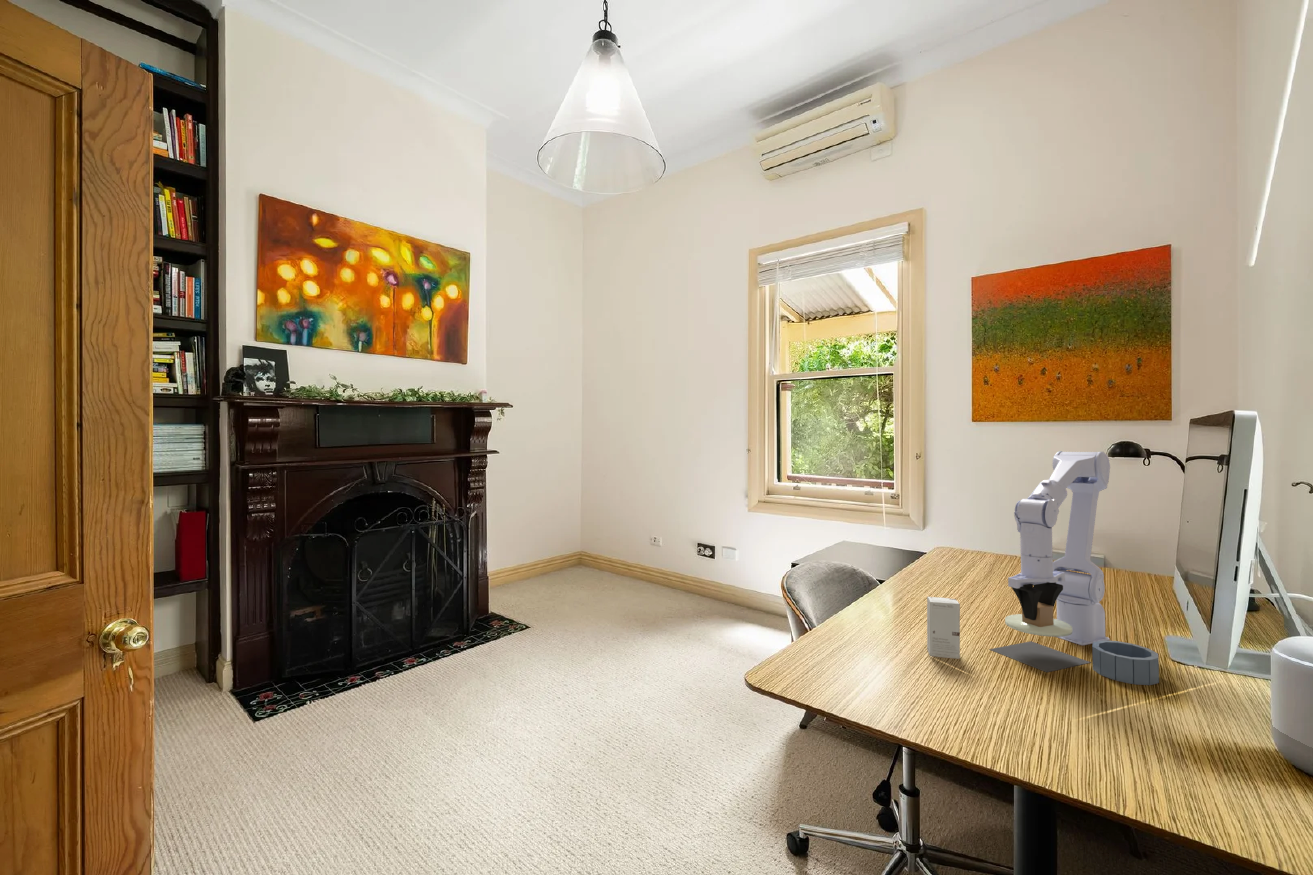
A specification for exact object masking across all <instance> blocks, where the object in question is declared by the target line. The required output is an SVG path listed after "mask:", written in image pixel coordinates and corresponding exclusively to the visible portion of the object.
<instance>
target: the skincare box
mask: <svg viewBox="0 0 1313 875" xmlns="http://www.w3.org/2000/svg"><path fill="white" fill-rule="evenodd" d="M926 603H927V604H926V605H927V606H926V615H927V616H926V635H927V636H926V640H927V641H926V646H927V647H926V649H927V652H928V654H929V656H930V657H934V658H935V657H938V658H945V659H947V658H948V659H959V660H960V658H961V653H960V650H961V637H960V636H961V634H960V633H961V630H960V629H961V627H960V626H961V621H960V620H961V618H960V617H961V604H960V603H959V601H958V600H957V599H956V598H948V597H935V596H927V597H926Z"/></svg>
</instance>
